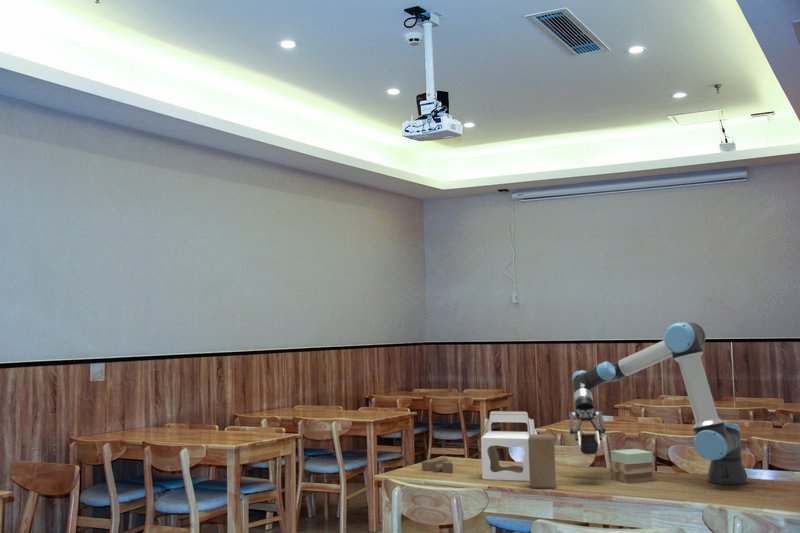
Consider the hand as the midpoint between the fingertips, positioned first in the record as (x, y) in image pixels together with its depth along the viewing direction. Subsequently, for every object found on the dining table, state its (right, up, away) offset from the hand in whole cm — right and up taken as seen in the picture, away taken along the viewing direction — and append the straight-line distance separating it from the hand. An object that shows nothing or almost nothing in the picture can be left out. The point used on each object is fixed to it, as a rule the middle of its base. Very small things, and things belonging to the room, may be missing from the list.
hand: (589, 446), depth 329 cm
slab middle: (+19, -12, +9) cm, 24 cm away
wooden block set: (-54, -22, +47) cm, 75 cm away
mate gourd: (0, -4, +3) cm, 5 cm away
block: (-19, -16, -1) cm, 25 cm away
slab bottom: (+19, -16, +8) cm, 26 cm away
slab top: (+19, -8, +9) cm, 23 cm away
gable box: (-29, -18, +21) cm, 40 cm away
